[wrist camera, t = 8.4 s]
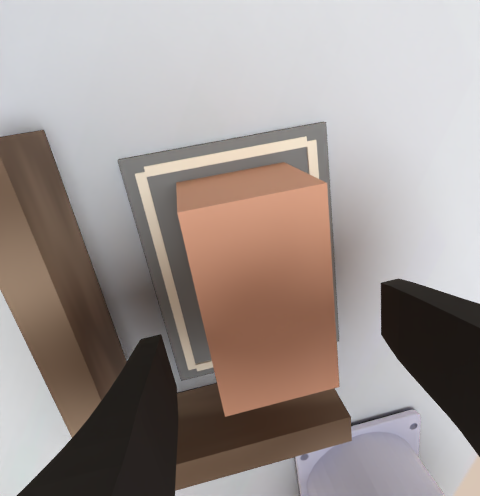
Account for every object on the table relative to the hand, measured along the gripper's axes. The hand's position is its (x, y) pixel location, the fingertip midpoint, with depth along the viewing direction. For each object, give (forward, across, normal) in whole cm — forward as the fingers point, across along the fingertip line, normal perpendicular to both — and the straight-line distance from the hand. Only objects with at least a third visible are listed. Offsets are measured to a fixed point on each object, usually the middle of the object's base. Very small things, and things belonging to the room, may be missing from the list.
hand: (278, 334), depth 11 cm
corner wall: (+6, +2, 0) cm, 6 cm away
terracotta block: (+5, 0, 0) cm, 5 cm away
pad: (+6, 0, 0) cm, 6 cm away
